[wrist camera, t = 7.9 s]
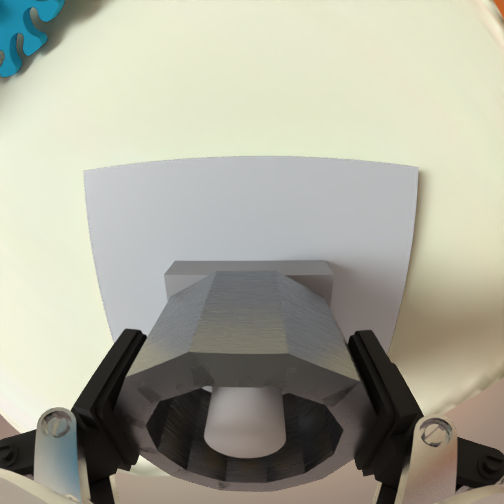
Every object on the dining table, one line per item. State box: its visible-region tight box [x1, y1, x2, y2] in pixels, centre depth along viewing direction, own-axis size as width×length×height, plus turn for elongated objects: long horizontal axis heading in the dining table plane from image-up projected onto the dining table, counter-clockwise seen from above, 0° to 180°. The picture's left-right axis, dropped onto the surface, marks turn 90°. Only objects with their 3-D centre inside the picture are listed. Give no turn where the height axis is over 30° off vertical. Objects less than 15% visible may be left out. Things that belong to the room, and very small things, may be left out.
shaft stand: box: [84, 156, 418, 458], centre depth 10 cm, size 14×14×7 cm
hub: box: [113, 271, 378, 492], centre depth 8 cm, size 7×7×4 cm
